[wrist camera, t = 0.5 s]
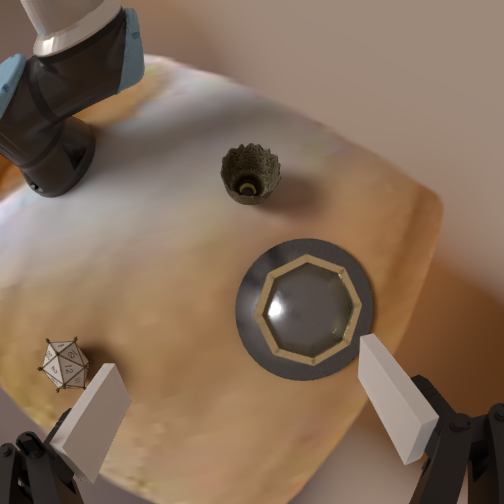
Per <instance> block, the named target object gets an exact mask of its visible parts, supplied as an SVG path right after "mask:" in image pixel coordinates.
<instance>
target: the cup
mask: <svg viewBox="0 0 504 504" xmlns="http://www.w3.org/2000/svg"><path fill="white" fill-rule="evenodd" d="M280 166H281V165H280V163H278V156H277V155H275V154H270V149H265V150H264V151H263V148H262V147H261V146H260V145H259V144H258V145H254V144H253V143H250V144H248V145H247V146H246V148H245V147H244V145H243V144H241V145H240V146H239V148H237V149H235V148H231V149H230V150H229V151H228V153H227V155H226V157H225V156H224V157H223V159H222V168H221V172H220V173H221V177H222V179H223V182H224V185H225V188H226V190H227V192H228V194H229V195H230V196H231V197H232V198H233V199H234V200H235V201H237V202H238V203H241V204H244V205H254V204H258V203H260V202H262V201H263V200H265V199H266V198H267V197H268V196H269V195H270V194H271V192H272V191H273V190H274V188H275V187H276V186H277V184H278V182H279V181H280V179H281V176H280V171H279V170H280ZM245 187H250V188H251V189H252V190H253V195H252V196H245V195H243V194H242V190H243V189H244V188H245Z"/></svg>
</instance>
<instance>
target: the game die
mask: <svg viewBox="0 0 504 504" xmlns="http://www.w3.org/2000/svg"><path fill="white" fill-rule="evenodd" d="M77 340H78V339H77V336H76V337H75V338H74V341H68V342H50V340H49V339H47V338H46V341H47V343H48V347H47V350H46V354H45V358H44V361H43V365H42V368H41V367H38V368H37V370H39V371H40V370H43V371H44V372H45V374H46V375H47V376H48V377H49V378H50V380H51V381H52V382H53V383H54V384H55V385H56V387H57V390H56V391H57V393H58V392H59V389H70V388H83V389H84V390H85V389H86V387H85V381H86V376H87V371H88V369H89V363H93V362H94V361H92V360H90V361H88V359H87V358H86V357H85V355H84V354H83V352H82V351H81V350H80V348H79V347H78V345H77V344H76V341H77Z"/></svg>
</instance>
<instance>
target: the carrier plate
mask: <svg viewBox="0 0 504 504" xmlns="http://www.w3.org/2000/svg"><path fill="white" fill-rule="evenodd" d="M372 319H373V297H372V292H371V288H370V285H369V282H368V279H367V277H366V275H365V273H364V272H363V270H362V268H361V267H360V266H359V264H358V263H357V262H356V261H355V260H354V259H353V258H352V256H350V255H349V254H348V253H347V252H345V251H344V250H343V249H341V248H339V247H338V246H336V245H333V244H331V243H329V242H325V241H322V240H317V239H295V240H291V241H287V242H284V243H281V244H279V245H276V246H275V247H273V248H271V249H269V250H268V251H267V252H265V253H264V254H263V255H261V256H260V257H259V258H258V259H257V260H256V261H255V262H254V263H253V265H252V266H251V267H250V268H249V270H248V271H247V273H246V275H245V276H244V278H243V280H242V283H241V285H240V287H239V291H238V295H237V300H236V323H237V328H238V332H239V335H240V338H241V340H242V342H243V345H244V346H245V348H246V350H247V351H248V353H249V354H250V355H251V356H252V358H253V359H254V360H255V361H256V362H257V363H258V364H259V365H260V366H262V367H263V368H264V369H266V370H267V371H269V372H271V373H273V374H275V375H277V376H279V377H282V378H285V379H290V380H299V381H307V380H315V379H319V378H323V377H326V376H328V375H331V374H333V373H335V372H337V371H338V370H340V369H341V368H343V367H344V366H346V365H347V364H348V363H349V362H350V361H351V360H352V359H353V358H354V357H355V356H356V355H357V354H358V352H359V351H360V336H365V335H368V334H369V331H370V328H371V324H372Z"/></svg>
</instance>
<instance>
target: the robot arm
mask: <svg viewBox="0 0 504 504" xmlns="http://www.w3.org/2000/svg"><path fill="white" fill-rule="evenodd" d="M20 1H21V3H22V5H23V7H24V9H25V11H26V12H27V15H28V16H29V18H30V20H31V22H32V24H33V26H34V27H35V29H36V31H37V33H38V37H37V40H36V42H35V45H34V49H33V51H34V54H35V55H34V56H32V57H31V58H30V59H28V60H27V59H26V56H24V55H22V54H16V55H13V56H11V57H9V58H8V59H7V60H6V61H4V62H3V63H2V64H1V65H0V154H1V155H2V156H4V157H5V158H6V159H8V160H9V161H10V162H12V163H13V164H15V165H16V166H17V167H19V169H20V171H21V172H22V174H23V176H24V178H25V180H26V181H27V183H28V185H29V186H30V188H31V189H32V190H34V191H35V192H36V193H38V194H40V195H41V196H44V197H55V196H58V195H61V194H63V193H65V192H66V191H68V190H69V189H71V188H72V187H73V186H74V185H75V184H76V183H77V182H78V181H79V180H80V179H81V178H82V176H83V175H84V174H85V172H86V171H87V169H88V167H89V165H90V163H91V161H92V158H93V155H94V151H95V138H94V135H93V133H92V131H91V130H90V128H89V127H88V126H87V124H86V123H85V122H83V121H82V120H80V119H78V118H76V117H74V116H72V115H74V114H76V113H78V112H80V111H82V110H83V109H85V108H87V107H89V106H91V105H93V104H95V103H98V102H100V101H102V100H104V99H106V98H108V97H110V96H113V95H117V94H118V93H120V92H121V91H123V90H125V89H127V88H129V87H131V86H133V85H135V84H137V83H138V82H139V81H140V80H141V79H142V78H143V75H144V70H145V67H144V55H143V48H142V41H141V37H140V31H139V22H138V17H137V14H136V11H135V9H134V8H126V9H123V8H122V5H121V2H120V1H119V0H20ZM358 378H359V380H360V382H361V384H362V386H363V387H364V389H365V391H366V393H367V395H368V397H369V398H370V400H371V402H372V404H373V406H374V408H375V409H376V411H377V413H378V415H379V417H380V419H381V421H382V423H383V424H384V426H385V428H386V430H387V432H388V434H389V436H390V438H391V439H392V441H393V443H394V445H395V447H396V449H397V451H398V453H399V455H400V457H401V459H402V461H403V463H404V465H406V464H409V463H411V462H414V461H416V460H418V459H420V458H421V457H422V455H423V453H424V451H425V453H426V454H427V456H428V458H427V460H426V462H425V463H424V465H423V467H422V469H423V471H422V474H421V476H420V479H419V482H418V484H417V487H416V489H415V491H414V494H413V496H412V498H411V501H410V503H409V504H456V503H457V501H458V497H459V494H460V491H461V487H462V483H463V479H464V475H465V471H466V467H467V465H468V504H504V403H498V404H495V405H493V406H492V407H491V408H490V410H489V412H488V414H486V415H482V416H478V417H474V418H470V417H469V416H468V415H465V414H462V413H456V412H455V411H454V410H453V409H452V408H451V406H450V405H449V404H448V403H447V402H446V400H445V399H444V398H443V397H442V396H441V394H440V393H438V391H437V390H436V388H434V386H433V385H432V384H431V382H430V381H429V380H428V379H426V378H424V377H422V376H421V375H417V376H414V377H412V378H409V377H408V375H407V374H406V373H405V372H404V371H403V369H402V368H401V367H400V365H399V364H398V363H397V361H396V360H395V359H394V358H393V356H392V355H391V354H390V353H389V352H388V350H387V349H386V348H385V347H384V345H383V344H382V343H381V342H380V340H379V339H378V338H377V337H376V336H375V334H374V333H373V334H369V335H365V336H360V353H359V369H358ZM131 401H132V400H131V398H130V395H129V393H128V391H127V389H126V387H125V385H124V383H123V380H122V378H121V376H120V374H119V371H118V369H117V367H116V364H115V363H104V364H103V366H102V367H101V368H100V370H99V371H98V373H97V374H96V375H95V377H94V378H93V380H92V381H91V382H90V384H89V385H88V387H87V388H86V389H85V391H84V392H83V394H82V395H81V397H80V398H79V400H78V401H77V402H76V404H75V405H74V407H73V408H69V409H68V410H67V411H66V412H64V413H63V414H62V416H61V417H60V419H59V422H57V423H56V425H55V427H54V428H53V429H52V431H51V432H50V433H49V435H48V437H47V438H46V440H45V441H44V443H42V442H41V440H40V439H39V438H38V436H37V435H36V434H35V433H34V432H30V431H29V432H24V433H22V434H21V435H20V436H18V438H17V440H16V445H17V446H18V447H19V448H20V450H21V451H18V450H17V448H16V447H15V446H14V445H13V444H11V443H5V444H3V445H1V447H0V504H84V502H83V500H82V498H81V495H80V492H79V490H78V487H77V484H76V482H75V480H74V479H73V476H74V474H75V475H76V476H77V477H78V478H79V479H80V480H82V481H85V482H88V483H92V484H94V482H95V480H96V477H97V475H98V473H99V470H100V468H101V466H102V463H103V461H104V459H105V457H106V454H107V452H108V450H109V448H110V446H111V443H112V441H113V439H114V437H115V435H116V432H117V430H118V428H119V426H120V424H121V422H122V420H123V417H124V415H125V413H126V411H127V409H128V407H129V405H130V403H131ZM18 479H19V480H20V481H21V486H20V485H18Z"/></svg>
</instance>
